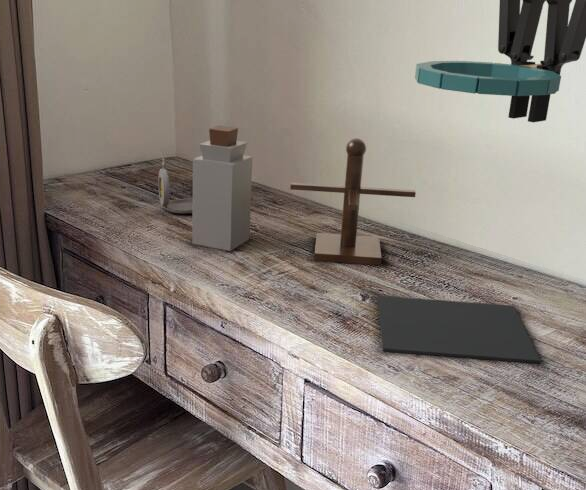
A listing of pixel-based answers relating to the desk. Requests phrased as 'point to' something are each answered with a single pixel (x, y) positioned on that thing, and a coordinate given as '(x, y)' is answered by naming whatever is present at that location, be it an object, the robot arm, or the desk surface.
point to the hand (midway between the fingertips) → (527, 118)
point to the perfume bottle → (222, 191)
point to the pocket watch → (164, 194)
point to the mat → (454, 329)
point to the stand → (350, 214)
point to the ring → (488, 78)
